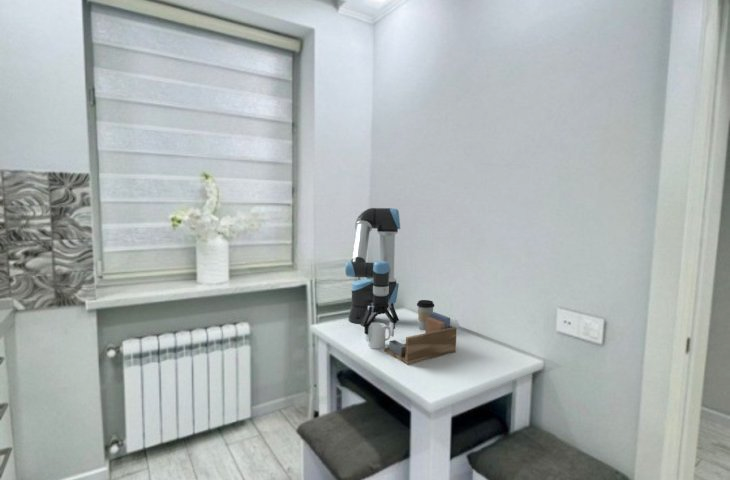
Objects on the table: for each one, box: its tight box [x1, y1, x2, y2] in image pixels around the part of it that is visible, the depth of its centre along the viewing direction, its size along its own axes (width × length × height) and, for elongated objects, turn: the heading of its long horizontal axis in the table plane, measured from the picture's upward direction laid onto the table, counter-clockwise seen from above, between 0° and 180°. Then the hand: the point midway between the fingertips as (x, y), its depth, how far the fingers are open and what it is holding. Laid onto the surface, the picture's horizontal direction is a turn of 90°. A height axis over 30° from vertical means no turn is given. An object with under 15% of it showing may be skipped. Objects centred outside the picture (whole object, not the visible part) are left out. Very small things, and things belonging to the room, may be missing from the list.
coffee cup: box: [416, 299, 435, 331], centre depth 210 cm, size 9×9×15 cm
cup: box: [367, 322, 391, 350], centre depth 185 cm, size 8×12×10 cm
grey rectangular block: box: [388, 339, 406, 357], centre depth 173 cm, size 9×3×4 cm, turn 32°
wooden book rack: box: [383, 324, 457, 366], centre depth 178 cm, size 17×28×12 cm, turn 122°
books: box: [424, 311, 451, 333], centre depth 183 cm, size 11×6×14 cm, turn 32°
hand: (379, 338), depth 185 cm, fingers open, 13 cm apart
